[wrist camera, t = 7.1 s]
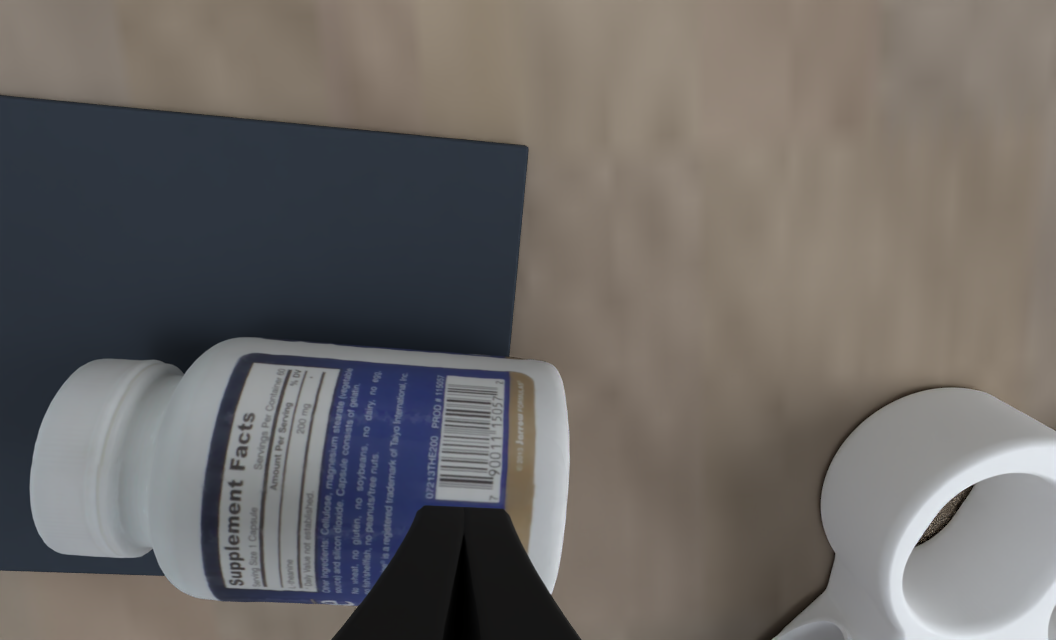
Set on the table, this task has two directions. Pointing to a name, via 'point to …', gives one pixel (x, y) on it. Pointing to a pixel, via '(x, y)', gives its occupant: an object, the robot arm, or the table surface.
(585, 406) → the table surface
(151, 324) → the mat
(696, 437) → the table surface
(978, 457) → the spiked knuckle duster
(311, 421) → the pill bottle
